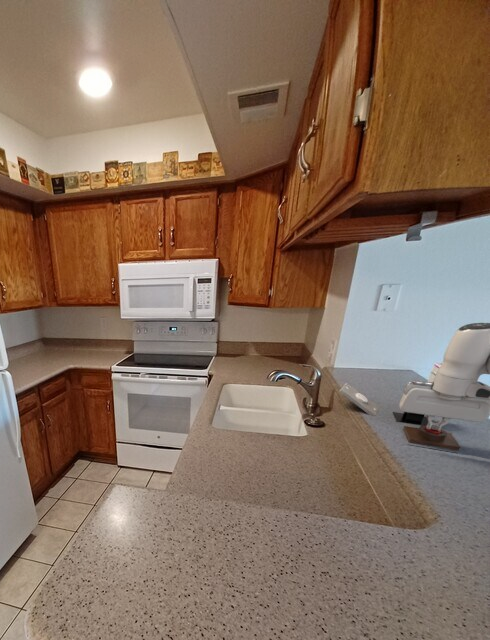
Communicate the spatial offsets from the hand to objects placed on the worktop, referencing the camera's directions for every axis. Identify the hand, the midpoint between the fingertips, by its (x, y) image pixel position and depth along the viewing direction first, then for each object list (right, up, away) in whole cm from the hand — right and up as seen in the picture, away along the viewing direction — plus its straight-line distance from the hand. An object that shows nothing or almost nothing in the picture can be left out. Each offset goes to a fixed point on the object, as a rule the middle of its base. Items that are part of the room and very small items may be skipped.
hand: (432, 429), depth 96 cm
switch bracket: (+4, +3, +14) cm, 15 cm away
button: (0, -2, +1) cm, 2 cm away
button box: (0, -4, +2) cm, 4 cm away
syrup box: (+24, +11, +29) cm, 39 cm away
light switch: (-9, +7, +23) cm, 26 cm away
